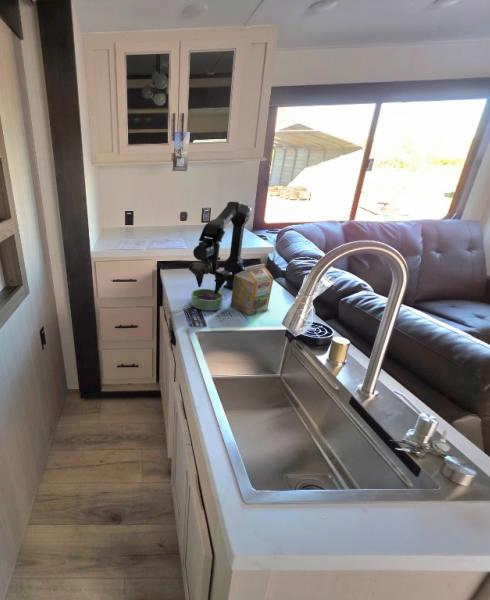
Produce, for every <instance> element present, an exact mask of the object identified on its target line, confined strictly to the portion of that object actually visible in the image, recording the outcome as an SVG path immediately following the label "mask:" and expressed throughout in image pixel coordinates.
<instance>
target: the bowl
mask: <svg viewBox="0 0 490 600" xmlns="http://www.w3.org/2000/svg"><path fill="white" fill-rule="evenodd" d="M204 293H209V294H211V295H212V297H213V300H203V299H201V296H202V295H203V294H204ZM223 300H224V295H223V293H222V292H221V291H218V293H217V294H215V289H211V288H199V289H198V288H197V289H194V290H193V291H191V295H190V304H191V306H192V307H194V308H195V309H198V310H202V311H211V312H212V311H218V310H220V309H221V308H222V307H223V302H224V301H223Z"/></svg>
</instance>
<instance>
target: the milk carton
mask: <svg viewBox="0 0 490 600" xmlns="http://www.w3.org/2000/svg"><path fill="white" fill-rule="evenodd" d="M265 266H266V264H265V263H260V264H256V265H255V264H254V265H249V266H246V267H245V271H242V272H239V273H237V274H236V275H235V276H234V283H233V290H232V292H231V299H230V304H229V306H230V307H231V308H233V309H236V310H238V311H239V312H241V313H243V314H245V315H247V316H252V315H256V314H259V313H263V312H266V311H268V308H269V304H270V298H271V293H272V289H273V283H274V277H273V275H272V274H271V273H270V271H269V270H268V269H267V268H266V267H265Z"/></svg>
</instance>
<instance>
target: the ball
mask: <svg viewBox="0 0 490 600" xmlns="http://www.w3.org/2000/svg"><path fill="white" fill-rule="evenodd" d="M201 299H203V300H213V297H212V295H211V294H209V293H204V294H203V295H202V296H201Z"/></svg>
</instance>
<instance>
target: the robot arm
mask: <svg viewBox="0 0 490 600" xmlns="http://www.w3.org/2000/svg"><path fill="white" fill-rule="evenodd" d="M251 215H252V208H251V207H250V206H249V205H246V204H243V203H241V202H239V201H228V202H227V204H226V206H225V207H224V209H222V211H221V212H220V214H218V216H217V217H216V218H214V219H211V220H209V221H208V222H207V223H206V224H205V225H204V227H203V229H202V231H201V233H200V236H199V238H198V245H196V246H195V247H194V249H193V253H192V254H193V256H194V258H195V259H196V260H197V261H196V262H192V263H190V264H189V266H188V271H190V273H192V274H193V275H194V276H195V280H196V283H197V287H198V288H201V287H202V284H203V280H204V276H205V275H208V274H210V275H213V276H214V278H215V279H213V281H214V282H215V286H214V290H215V294H217V293H218V292H220V290H221V289H222V287H224V288H226V289H229V290H232V291H233V283H234V276H235V275H236V274H237V273H239V272H242V271H245V270H246V268H245V267H244V260H243V258H242V256H241V255H242V247H243V238H244V232H245V225H247V223H248V222H249V220H250V217H251ZM230 222H231V224H232V232H231V242H230V253H229V256H228V258H227V259H225V261H224V265H223V270H220V266H219V265H218V264H219V261H220V260H221V256H219V255H220V248H221V247H220V246H221V243H222V242H223V238H224V237H225V234H226V227H227V226H228V224H229V223H230ZM219 270H220V271H219Z"/></svg>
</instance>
